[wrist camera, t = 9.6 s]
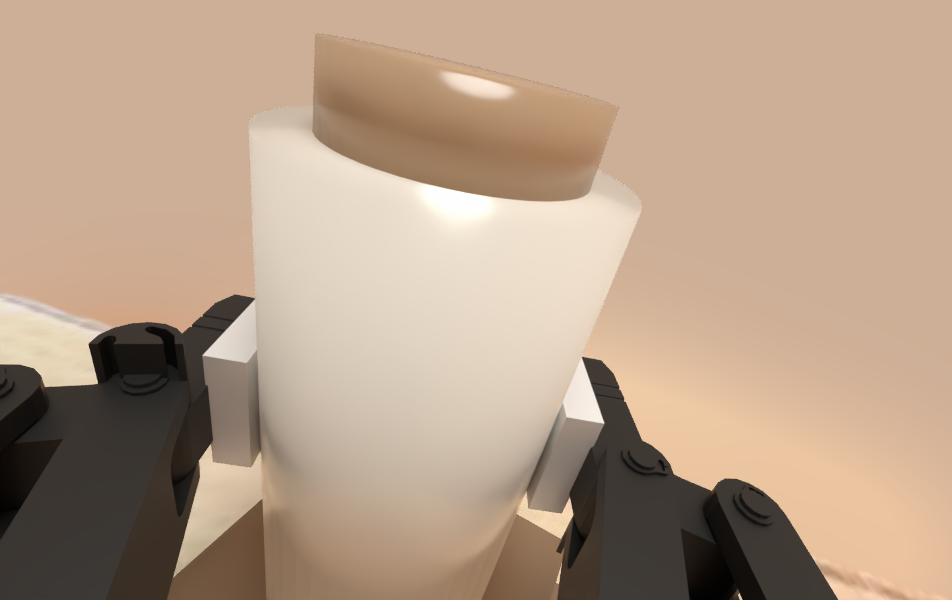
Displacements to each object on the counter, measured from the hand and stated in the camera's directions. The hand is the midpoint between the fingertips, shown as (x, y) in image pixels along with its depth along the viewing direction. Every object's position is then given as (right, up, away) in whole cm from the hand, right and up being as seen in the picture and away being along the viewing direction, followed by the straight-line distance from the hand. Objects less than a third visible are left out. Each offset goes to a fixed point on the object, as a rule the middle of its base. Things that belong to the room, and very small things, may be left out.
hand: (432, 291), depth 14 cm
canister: (-1, -8, -1) cm, 8 cm away
